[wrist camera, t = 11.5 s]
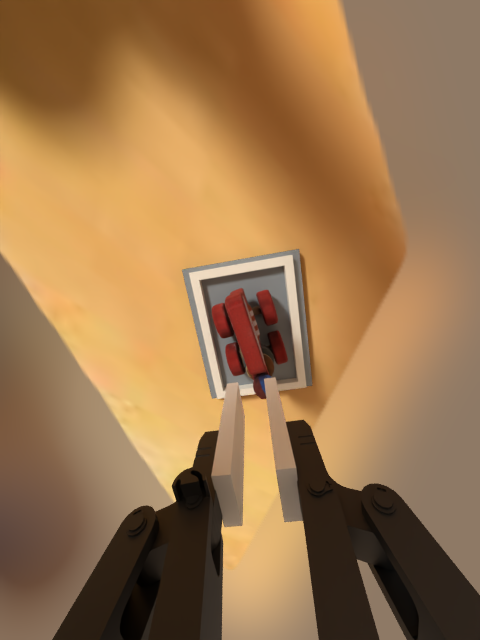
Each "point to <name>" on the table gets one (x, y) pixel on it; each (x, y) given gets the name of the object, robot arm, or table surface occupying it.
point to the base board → (288, 298)
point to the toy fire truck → (249, 337)
